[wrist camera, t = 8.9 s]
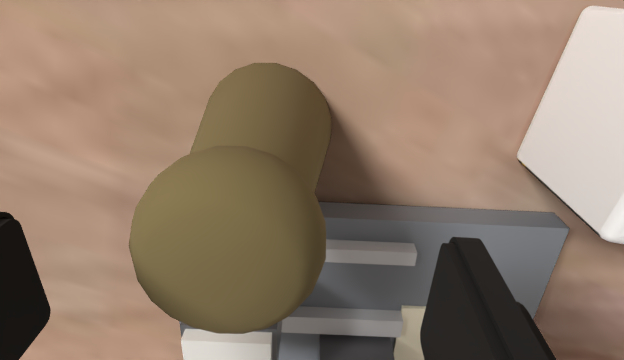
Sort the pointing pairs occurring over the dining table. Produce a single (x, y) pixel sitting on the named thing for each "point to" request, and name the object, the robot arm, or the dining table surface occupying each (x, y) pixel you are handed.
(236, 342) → the toggle plain
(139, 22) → the dining table surface
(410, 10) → the dining table surface
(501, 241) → the panel
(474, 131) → the dining table surface
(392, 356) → the block
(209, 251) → the cork
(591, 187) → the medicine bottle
